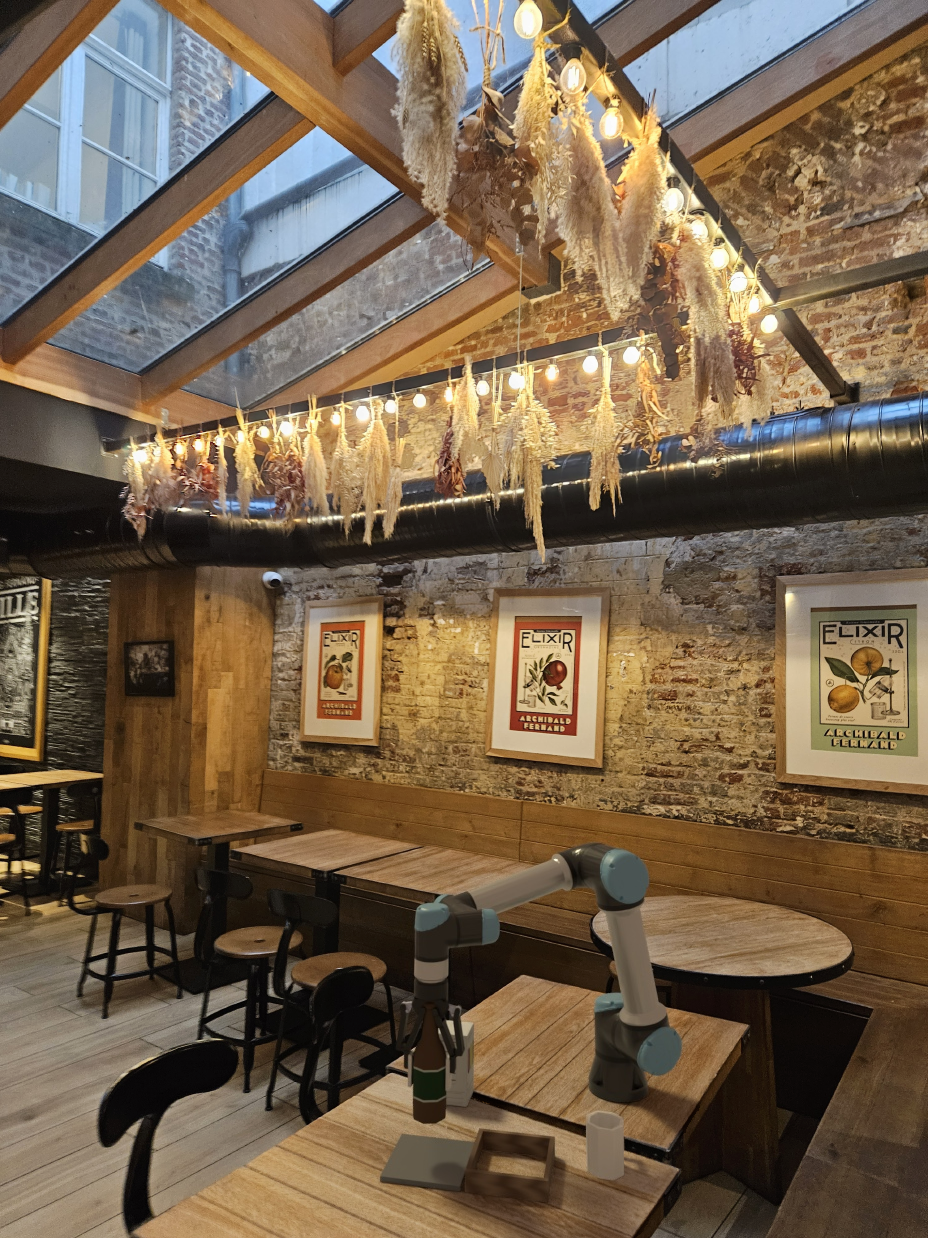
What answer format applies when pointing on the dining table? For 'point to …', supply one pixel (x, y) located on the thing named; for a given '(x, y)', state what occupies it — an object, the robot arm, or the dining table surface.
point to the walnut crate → (507, 1182)
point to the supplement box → (462, 1067)
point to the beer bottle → (429, 1073)
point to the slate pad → (428, 1162)
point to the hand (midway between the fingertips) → (429, 1086)
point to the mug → (605, 1145)
